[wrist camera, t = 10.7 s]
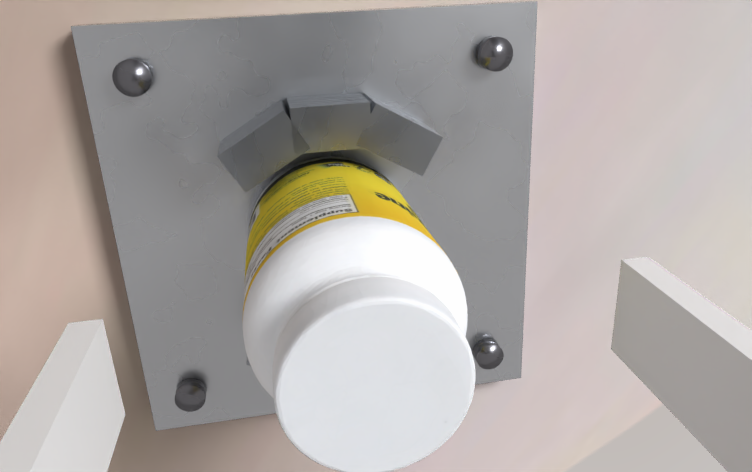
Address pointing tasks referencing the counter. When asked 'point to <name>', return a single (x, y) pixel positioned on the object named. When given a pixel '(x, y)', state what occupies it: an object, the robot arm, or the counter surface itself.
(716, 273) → the counter surface
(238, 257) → the collar
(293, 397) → the pill bottle
